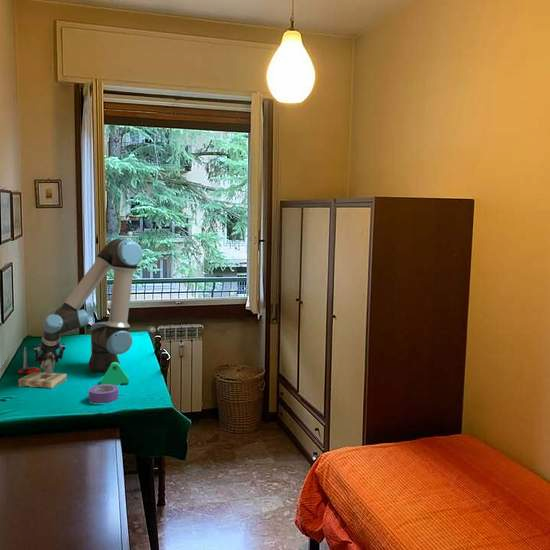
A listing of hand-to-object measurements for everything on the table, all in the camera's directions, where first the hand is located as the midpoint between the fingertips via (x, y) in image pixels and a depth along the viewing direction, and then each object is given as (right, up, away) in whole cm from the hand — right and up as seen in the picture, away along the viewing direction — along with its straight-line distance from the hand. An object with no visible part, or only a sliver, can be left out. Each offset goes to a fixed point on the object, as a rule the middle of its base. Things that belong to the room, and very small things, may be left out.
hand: (47, 366), depth 260 cm
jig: (+5, -5, -15) cm, 17 cm away
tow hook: (-9, -3, +2) cm, 10 cm away
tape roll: (+38, -8, -36) cm, 53 cm away
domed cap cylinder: (+2, -4, -3) cm, 5 cm away
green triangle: (+37, -6, -14) cm, 40 cm away
